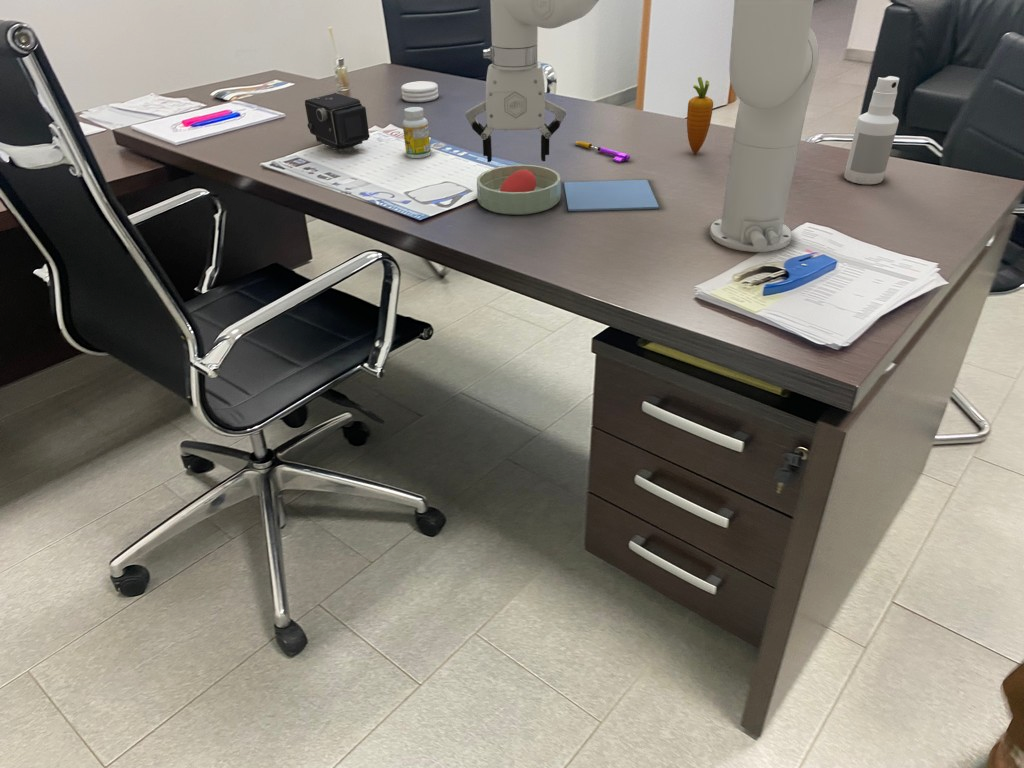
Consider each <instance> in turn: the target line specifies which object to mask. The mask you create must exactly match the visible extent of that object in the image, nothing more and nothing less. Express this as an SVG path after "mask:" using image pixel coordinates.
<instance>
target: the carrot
mask: <svg viewBox="0 0 1024 768" xmlns="http://www.w3.org/2000/svg"><path fill="white" fill-rule="evenodd" d="M703 81H704V80H703V78H702V76H698V77H697V82H698V85H699V86H698V85H697V84H694V85H693V86H692V88H693V89H695V91H696V93H697V96H693V97H692V98H690V99H689V101H688V103H687V113H686V114H687V115H686V133H687V139H688V140H687V141H688V144H689V146H690V149H691V152H692V153H693V154H694V155H696V154H698V153H699V151H700V150H701V148H702V147H703V145H704V143H705V141H706V139H707V136H708V134H709V133H708V132H709V128H710V127H711V126H710V125H711V122H712V116H713V110H714V100H713V99H712V98H710V97H709V96H706V95H707V93H708V90H709V87H710V81H708V80H705V82H703Z"/></svg>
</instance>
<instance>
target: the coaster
mask: <svg viewBox="0 0 1024 768" xmlns="http://www.w3.org/2000/svg"><path fill="white" fill-rule="evenodd" d="M400 90H401V95H402V96H401V99H402V100H403V101H405V102H409V103H426V102H431V101H435V100H437V99H438V98H439V89H438V83H436V82H434V81H428V80H419V81H418V80H417V81H416V80H415V81H411V82H407V83H403V84H402V85H401V87H400Z"/></svg>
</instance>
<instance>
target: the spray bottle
mask: <svg viewBox="0 0 1024 768" xmlns="http://www.w3.org/2000/svg"><path fill="white" fill-rule="evenodd" d="M899 83H900V77H898V76H893V75H888V76H886V77H879V76H878V77H877V81H876V86H875V87H874V89H873V90H872V94H871V99H870V102H869V106H868V108H867V109H868V110H867V112H865V113H861V114H860V115H859V116H858V118H857V120H856V123H855V124H856V125H855V128H854V132H853V137H852V141H851V144H850V145H851V146H850V149H849V154H848V157H847V161H846V166H845V170H844V173H843V174H844V175H843V176H844V177H843V178H844V179H845V180H847V181H848V182H851V183H854V184H858V185H867V186H868V185H869V186H870V185H877V184H880V183H882V182H883V180H884V177H885V175H886V171H887V167H888V163H889V159H890V155H891V152H892V147H893V144H894V141H895V137H896V133H897V130H898V126H899V124H900V123H899V122H900V120H899V118H898V117H897V116H895V114H894V113H893V112H894V109H895V105H896V100H897V95H898V86H899Z"/></svg>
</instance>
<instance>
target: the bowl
mask: <svg viewBox="0 0 1024 768" xmlns="http://www.w3.org/2000/svg"><path fill="white" fill-rule="evenodd" d="M523 169H524V170H528V171H530V172H532V173H533V174H534V176H535V178H536V187H535V189H534V191H529V192H502V191H500V188H501V186H502V184H503V183H504V181H505V180H506V179H507V178H508V177H509V176H510V175H511V174H513V173H514V172H516V171H518V170H523ZM561 179H562V178H561V174H560V173H559V172H557V171H556V170H554V169H551V168H549V167H545V166H541V165H534V164H510V165H509V164H508V165H503V166H497V167H494V168H490V169H488V170H486V171H483V172H481V173H480V174H479V175H478V176H477V177H476V195H477V196H476V197H477V203H478V204H479V205H480V206H481V207H483V208H484V209H486V210H487V211H490V212H492V213H497V214H503V215H513V216H514V215H515V216H516V215H519V216H520V215H521V216H522V215H531V214H536V213H541V212H544V211H547V210H550V209H551V208H553V207H555V206H557V204H558V203H559V202H560V200H561V199H562V198H561V197H562V195H561V193H562V189H561V188H562V182H561V181H562V180H561Z"/></svg>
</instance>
